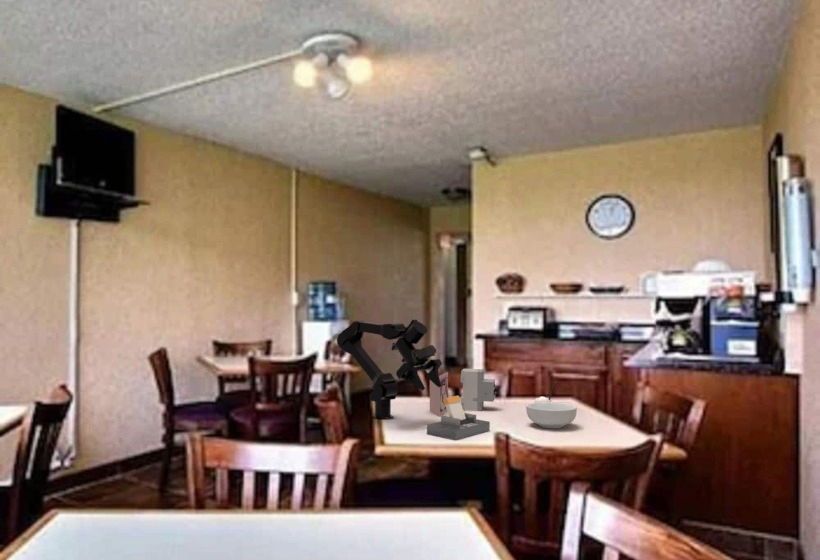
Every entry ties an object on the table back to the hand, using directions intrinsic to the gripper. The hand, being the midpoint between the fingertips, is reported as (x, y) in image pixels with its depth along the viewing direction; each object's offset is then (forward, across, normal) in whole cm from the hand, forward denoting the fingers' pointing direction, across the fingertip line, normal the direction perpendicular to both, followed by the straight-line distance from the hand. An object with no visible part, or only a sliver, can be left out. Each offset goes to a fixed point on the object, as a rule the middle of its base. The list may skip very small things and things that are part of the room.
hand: (432, 388), depth 229 cm
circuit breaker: (+5, +37, +14) cm, 40 cm away
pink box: (0, +19, +19) cm, 27 cm away
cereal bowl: (+30, +29, -12) cm, 43 cm away
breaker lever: (+15, 0, -2) cm, 15 cm away
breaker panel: (+18, 0, +1) cm, 18 cm away
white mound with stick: (+21, +46, -2) cm, 51 cm away
